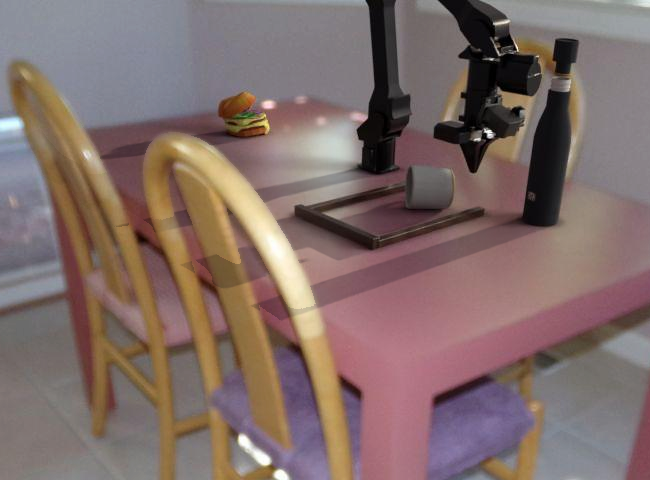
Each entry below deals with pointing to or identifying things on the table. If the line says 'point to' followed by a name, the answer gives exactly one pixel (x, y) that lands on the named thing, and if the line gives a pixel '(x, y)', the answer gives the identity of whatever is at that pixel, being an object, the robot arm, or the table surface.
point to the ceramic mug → (429, 187)
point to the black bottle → (551, 143)
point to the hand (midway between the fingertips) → (473, 172)
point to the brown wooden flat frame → (368, 239)
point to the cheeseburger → (242, 116)
